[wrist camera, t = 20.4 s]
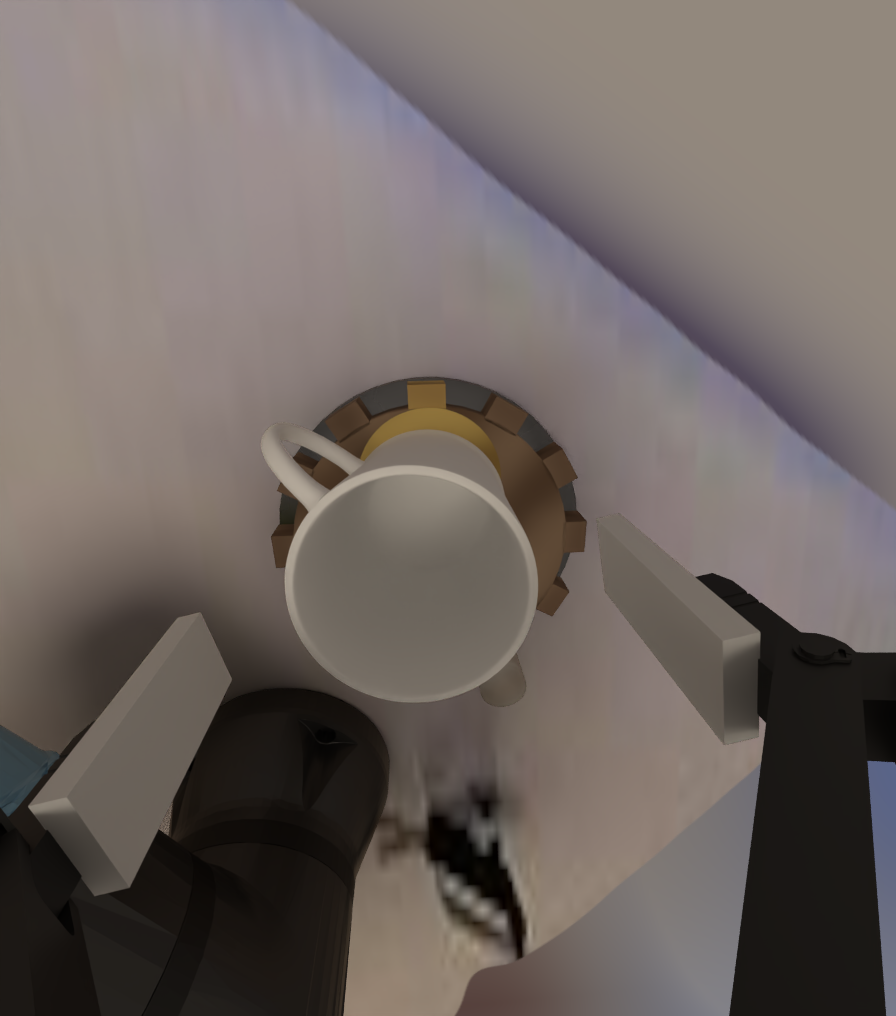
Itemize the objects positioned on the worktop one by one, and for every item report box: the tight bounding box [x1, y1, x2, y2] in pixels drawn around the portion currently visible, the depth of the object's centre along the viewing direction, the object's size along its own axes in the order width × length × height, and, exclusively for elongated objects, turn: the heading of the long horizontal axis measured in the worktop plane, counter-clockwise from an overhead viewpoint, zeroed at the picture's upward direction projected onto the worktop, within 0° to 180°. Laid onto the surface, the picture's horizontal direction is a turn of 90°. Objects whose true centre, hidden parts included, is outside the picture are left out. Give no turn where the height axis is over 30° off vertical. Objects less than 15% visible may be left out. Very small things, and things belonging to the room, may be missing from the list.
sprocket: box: [271, 380, 587, 707], centre depth 27 cm, size 18×18×8 cm
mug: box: [261, 423, 538, 703], centre depth 21 cm, size 12×8×12 cm
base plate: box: [280, 377, 576, 577], centre depth 31 cm, size 19×19×1 cm
